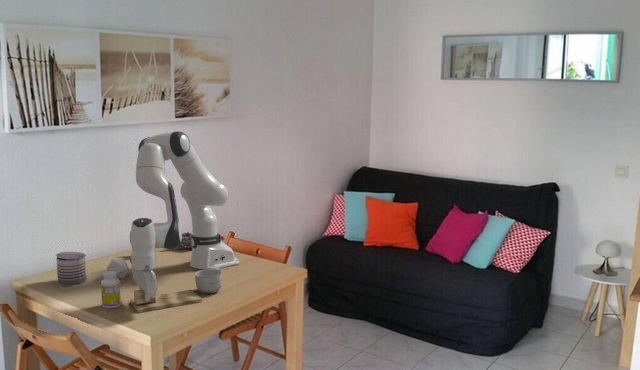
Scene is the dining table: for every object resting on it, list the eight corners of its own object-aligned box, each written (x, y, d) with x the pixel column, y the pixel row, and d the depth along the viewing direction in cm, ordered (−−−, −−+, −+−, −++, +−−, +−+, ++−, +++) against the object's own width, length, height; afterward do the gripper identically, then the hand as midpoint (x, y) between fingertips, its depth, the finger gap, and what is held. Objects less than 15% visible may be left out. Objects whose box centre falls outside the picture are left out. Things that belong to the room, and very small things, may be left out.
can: (65, 277, 269) (63, 249, 267) (91, 277, 268) (90, 250, 266) (52, 285, 258) (50, 257, 256) (79, 286, 257) (78, 258, 255)
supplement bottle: (104, 302, 240) (103, 270, 237) (122, 302, 240) (121, 269, 238) (100, 309, 233) (98, 275, 231) (118, 308, 234) (117, 275, 231)
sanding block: (152, 299, 240) (152, 287, 239) (155, 302, 237) (155, 291, 236) (134, 302, 237) (133, 290, 236) (136, 305, 233) (136, 293, 233)
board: (191, 292, 252) (191, 289, 252) (201, 301, 242) (201, 298, 242) (130, 302, 240) (130, 299, 240) (138, 312, 230) (138, 309, 230)
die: (116, 283, 264) (130, 263, 265) (99, 272, 264) (113, 252, 266) (122, 284, 272) (135, 265, 273) (106, 273, 273) (119, 254, 274)
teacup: (209, 297, 247) (209, 277, 245) (189, 292, 252) (188, 273, 251) (232, 287, 258) (232, 269, 257) (212, 283, 264) (212, 264, 262)
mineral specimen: (166, 242, 310) (179, 224, 311) (175, 244, 320) (187, 227, 320) (186, 258, 307) (199, 239, 307) (194, 259, 316) (207, 241, 317)
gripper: (160, 268, 227) (161, 305, 229) (145, 254, 244) (146, 289, 247) (142, 271, 224) (144, 308, 226) (128, 256, 241) (129, 291, 243)
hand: (145, 298), depth 236 cm, fingers closed on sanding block, 4 cm apart
